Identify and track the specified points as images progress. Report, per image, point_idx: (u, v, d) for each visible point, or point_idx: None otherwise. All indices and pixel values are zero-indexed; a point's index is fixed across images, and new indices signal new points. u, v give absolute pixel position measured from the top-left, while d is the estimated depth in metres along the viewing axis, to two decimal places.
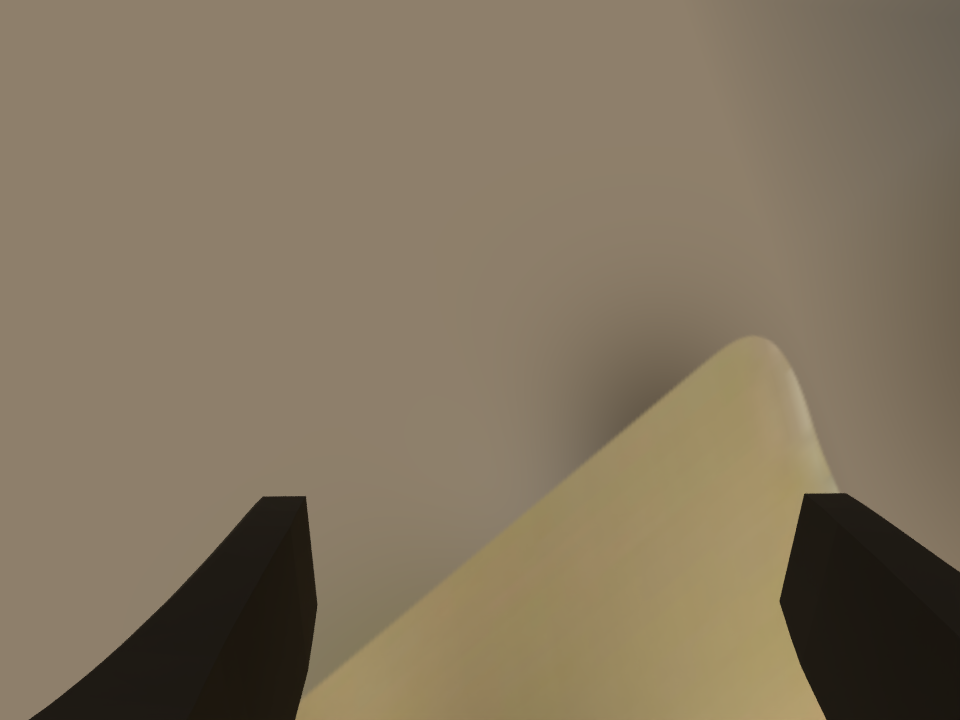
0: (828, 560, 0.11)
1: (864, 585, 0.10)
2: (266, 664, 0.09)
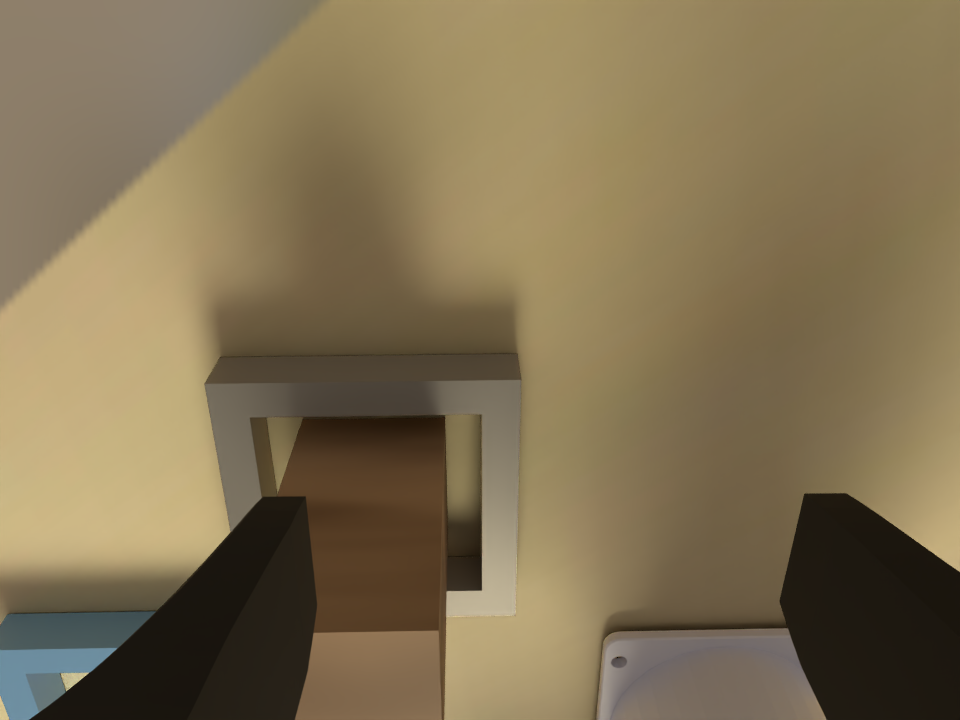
0: (828, 560, 0.11)
1: (864, 585, 0.10)
2: (267, 664, 0.09)
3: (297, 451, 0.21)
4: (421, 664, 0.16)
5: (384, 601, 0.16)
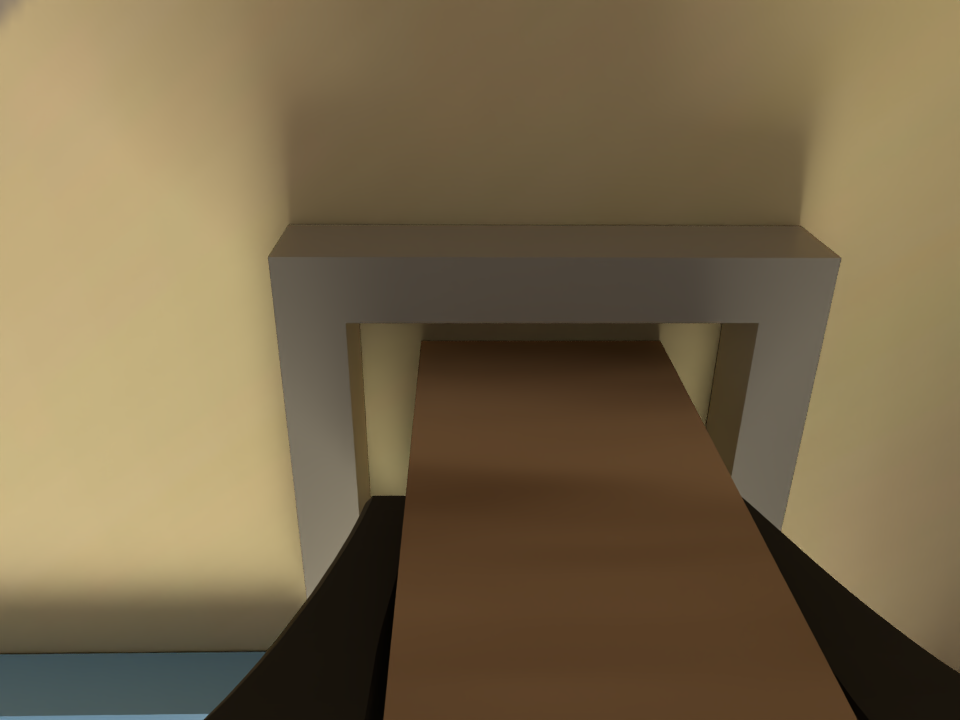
0: None
1: None
2: None
3: (426, 387, 0.12)
4: None
5: (716, 692, 0.07)
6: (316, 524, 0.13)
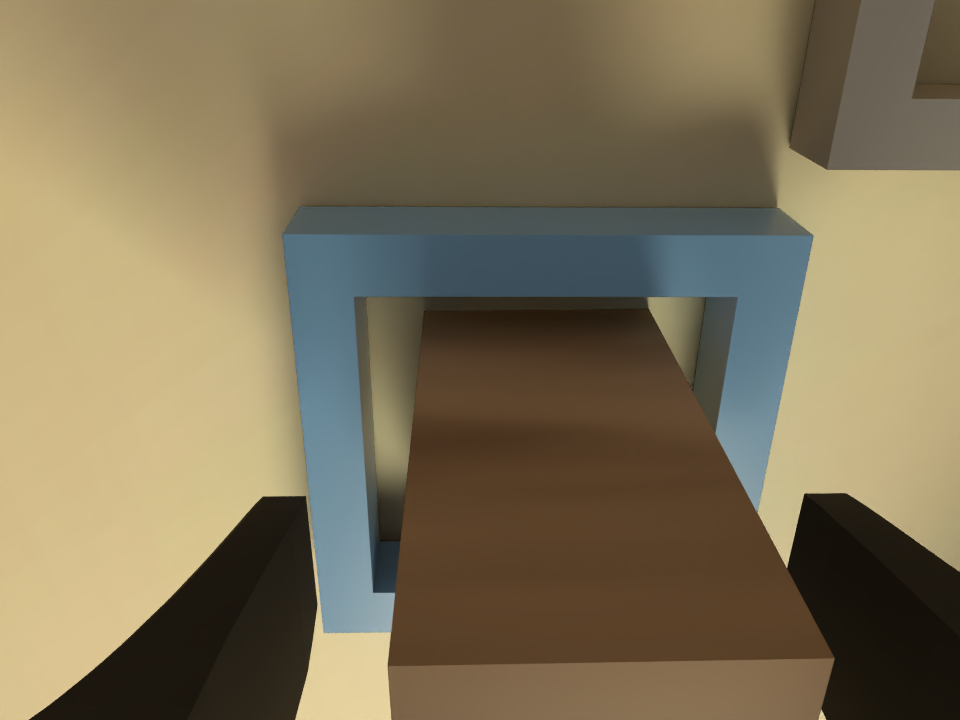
0: (828, 560, 0.11)
1: (864, 585, 0.10)
2: (267, 664, 0.09)
3: (429, 351, 0.13)
4: None
5: (688, 596, 0.08)
6: None
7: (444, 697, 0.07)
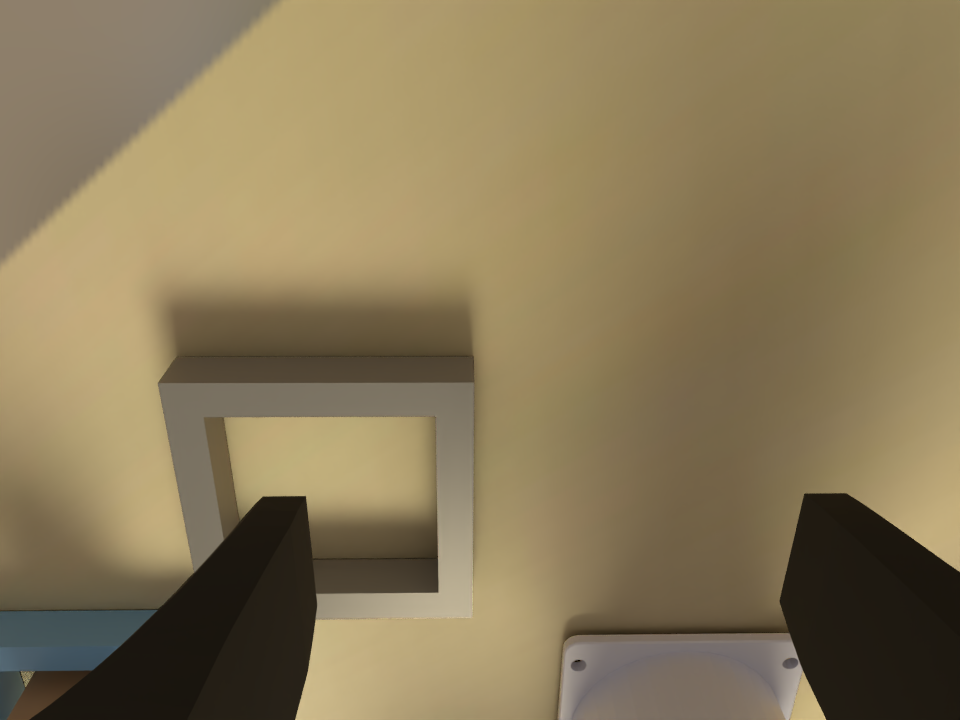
0: (828, 560, 0.11)
1: (864, 585, 0.10)
2: (266, 664, 0.09)
3: (26, 694, 0.25)
4: None
5: None
6: (196, 528, 0.22)
7: None
